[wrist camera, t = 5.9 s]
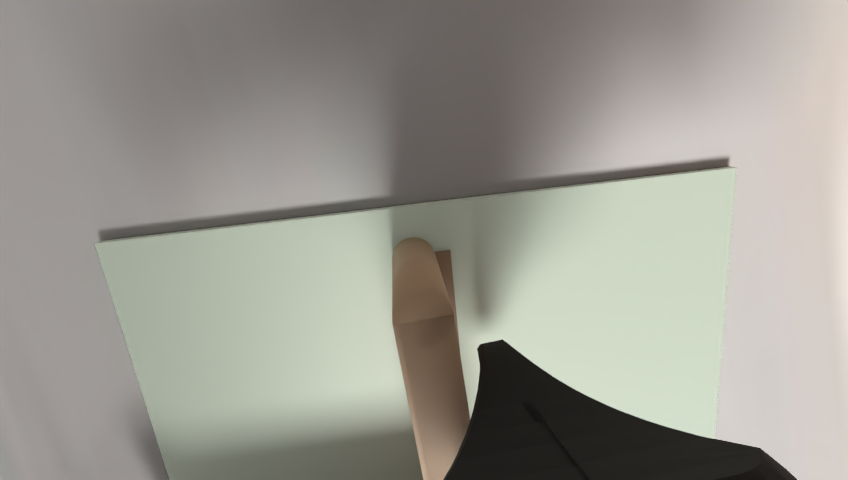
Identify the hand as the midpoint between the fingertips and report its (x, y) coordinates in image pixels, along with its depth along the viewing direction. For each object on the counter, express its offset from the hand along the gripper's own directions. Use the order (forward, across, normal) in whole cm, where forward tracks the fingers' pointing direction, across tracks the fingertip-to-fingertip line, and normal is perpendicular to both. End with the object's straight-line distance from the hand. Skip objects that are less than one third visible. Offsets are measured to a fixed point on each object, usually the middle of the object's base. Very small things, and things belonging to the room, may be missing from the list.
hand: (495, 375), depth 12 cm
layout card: (+2, +2, +2) cm, 4 cm away
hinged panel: (+2, +2, 0) cm, 2 cm away
